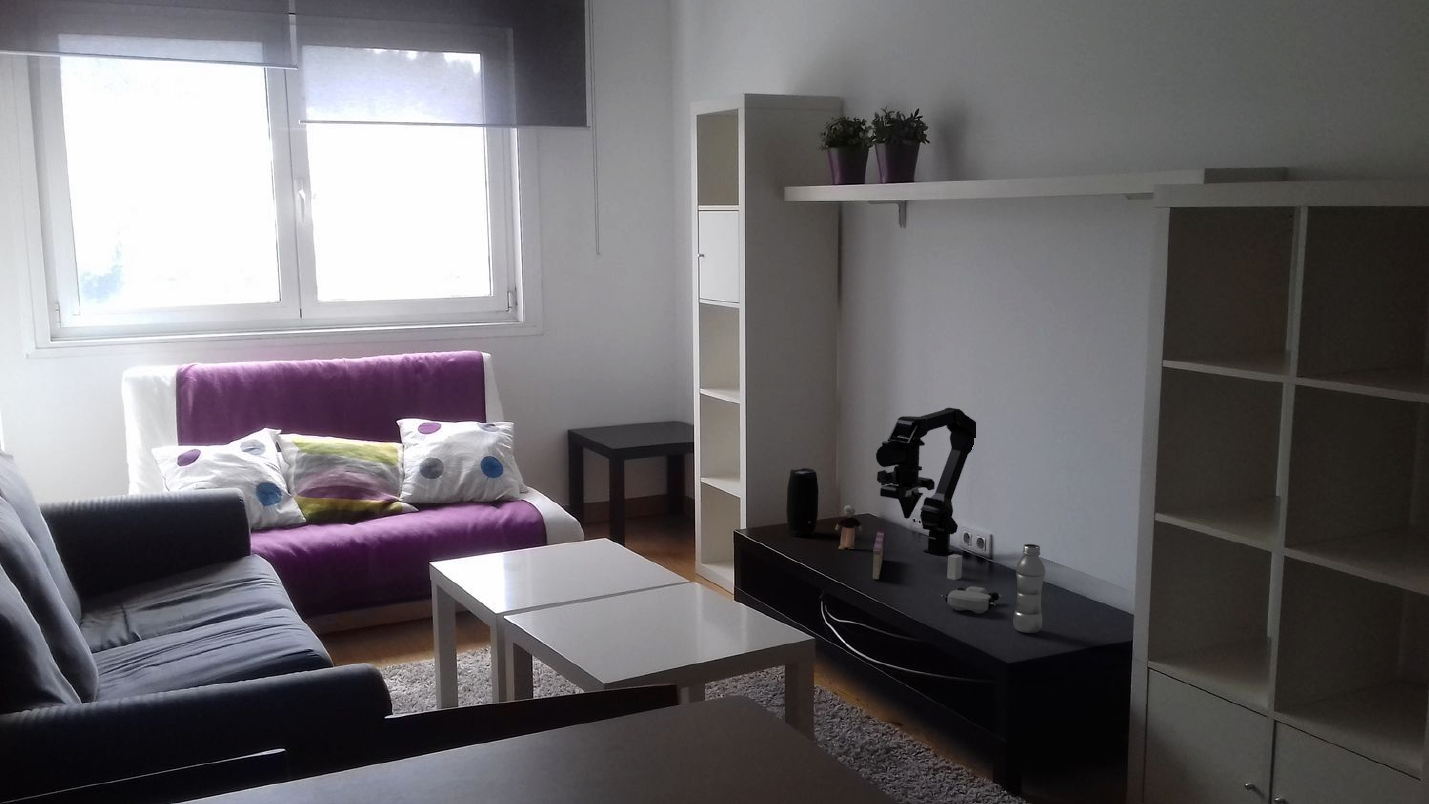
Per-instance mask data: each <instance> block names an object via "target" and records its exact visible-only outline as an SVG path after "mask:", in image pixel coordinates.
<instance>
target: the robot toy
mask: <svg viewBox="0 0 1429 804" xmlns="http://www.w3.org/2000/svg"><path fill="white" fill-rule="evenodd" d="M940 596H941V597H942V598H944V600H945V602H946V603H947V606H950V607H952V608H953V609H954V610H955V611H959V612H960V611H964V610H966V611H967V610H968V611H973V612H974V613H975V614H979V615H982V614H984V613H985V612H986V611H988V610H991V609H992V608H993V607H994V606H996V602H995V601H998V600H999V599H1001V598H1002V597H1003V595H1002V594H999V593H998V592H996V591H995V592H989V593H988V590H987V589H986V588H984V587H980V586H968V587H967V588H966V589H965V588H964V587H957V588H956V590H952V591H950V592H947V594H946V595H943V594H941V595H940Z"/></svg>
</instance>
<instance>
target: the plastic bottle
mask: <svg viewBox="0 0 1429 804" xmlns="http://www.w3.org/2000/svg"><path fill="white" fill-rule="evenodd" d="M1022 554H1023V556H1022V557H1021V558H1020V559H1019V561H1018V563H1017V564H1016V569H1015V572H1016V581H1017V582H1016V583H1017V586H1016V587H1017V589H1016V590H1017V592H1016V593H1017V597H1016V602H1015V603H1016V604H1015V609H1014V613H1013V619H1012V621H1013V627H1014V628H1015V630H1017V631H1018V632H1020V633H1025V634H1035V633H1039V632H1040V630H1041V629H1042V626H1043V616H1042V615H1043V614H1042V591H1043V583H1044V579H1045V574H1046V568H1045V565H1044V563H1043V561H1042V560H1041V558H1040V557H1039V556H1040V555H1041V546H1040V545H1038V544H1033V543H1026V544H1023V549H1022Z"/></svg>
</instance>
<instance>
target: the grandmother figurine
mask: <svg viewBox="0 0 1429 804" xmlns="http://www.w3.org/2000/svg"><path fill="white" fill-rule="evenodd" d="M843 512H844V516H843V517H842V518H840V519H839V521H837V524H836V525H835V526H836V527H835V528H834V530H836V531H838V530H840V527H841V526H842V528H841V534H840V535H841V536H840V545H839V546H838V549H839V550H845V549H846V548H848V549H847V550H849V549H854V550H855V547H854V545H855V537H856V535H855V533H856V532H855V530H856V529H855V527H857V528H858V531H860V532H862V531H863V527H862V523H861V521H859V520H858V519H857V518H855V517H854V515H855V514H856V510H855V508H854V507H853V506H852V505H845V506H844V508H843Z"/></svg>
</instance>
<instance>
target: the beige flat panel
mask: <svg viewBox="0 0 1429 804" xmlns="http://www.w3.org/2000/svg"><path fill="white" fill-rule="evenodd" d="M885 538H886V532H885V531H882V530H881V531H876V537H875V542H874V545H873V551H872V554H873V562H872V563H873V564H872V566H873V567H872V580H879V578H880V573H881V570H882V564H883V560H884V559H885V542H886V539H885Z"/></svg>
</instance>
